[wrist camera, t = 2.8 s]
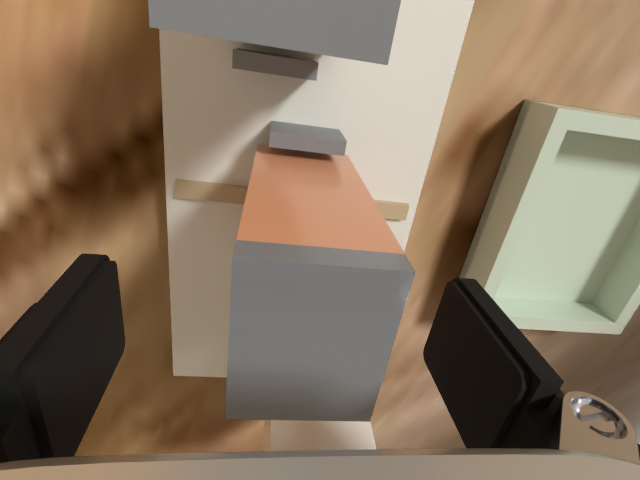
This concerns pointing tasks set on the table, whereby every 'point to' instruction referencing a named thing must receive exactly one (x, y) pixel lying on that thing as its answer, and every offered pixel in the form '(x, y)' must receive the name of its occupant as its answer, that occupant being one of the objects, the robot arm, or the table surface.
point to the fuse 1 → (288, 24)
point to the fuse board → (287, 145)
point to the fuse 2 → (317, 435)
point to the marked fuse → (311, 292)
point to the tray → (563, 222)
